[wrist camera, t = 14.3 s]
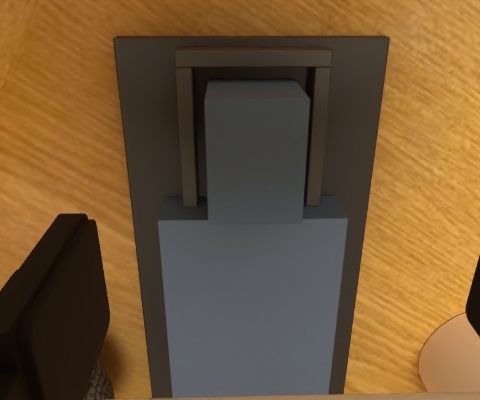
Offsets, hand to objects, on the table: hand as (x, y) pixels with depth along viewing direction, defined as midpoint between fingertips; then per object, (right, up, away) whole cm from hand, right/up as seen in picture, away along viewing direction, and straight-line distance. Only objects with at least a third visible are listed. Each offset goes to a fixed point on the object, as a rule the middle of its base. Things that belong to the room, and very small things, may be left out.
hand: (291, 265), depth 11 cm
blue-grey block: (-1, +5, +14) cm, 15 cm away
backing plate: (-1, -2, +18) cm, 18 cm away
